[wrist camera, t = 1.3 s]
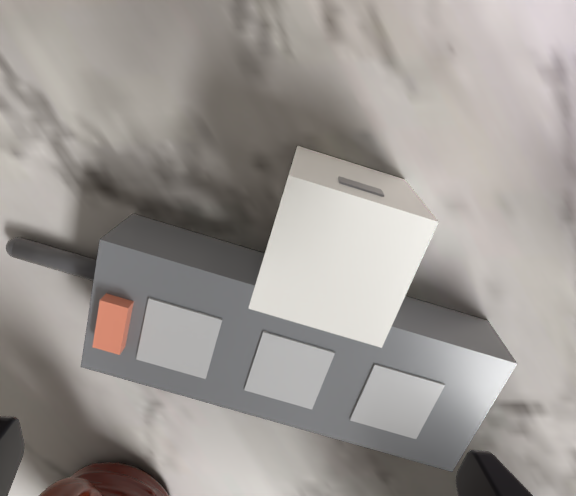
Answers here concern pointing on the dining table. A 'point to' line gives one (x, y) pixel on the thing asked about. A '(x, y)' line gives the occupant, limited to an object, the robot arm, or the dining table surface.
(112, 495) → the mug
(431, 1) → the dining table surface
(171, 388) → the power strip
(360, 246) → the block
